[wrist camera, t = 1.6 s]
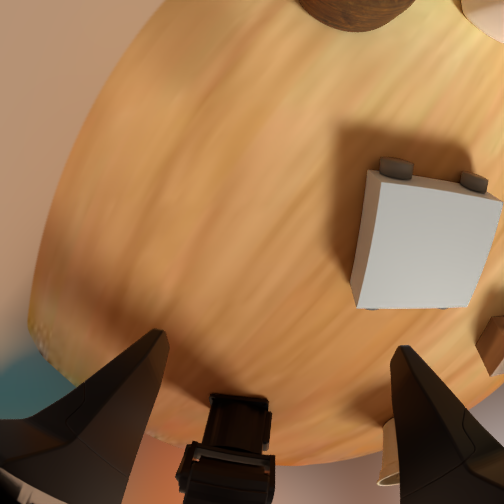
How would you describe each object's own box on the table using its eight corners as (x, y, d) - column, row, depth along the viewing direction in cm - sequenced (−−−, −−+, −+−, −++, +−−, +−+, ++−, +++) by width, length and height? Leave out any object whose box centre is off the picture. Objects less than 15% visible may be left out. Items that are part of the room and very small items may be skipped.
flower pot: (430, 424, 30) (440, 472, 23) (371, 440, 32) (375, 490, 25) (440, 395, 26) (456, 452, 19) (371, 415, 28) (377, 476, 21)
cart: (347, 292, 20) (353, 318, 17) (368, 154, 15) (383, 165, 13) (448, 293, 19) (462, 316, 16) (482, 175, 14) (506, 188, 12)
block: (475, 345, 22) (490, 376, 18) (491, 316, 20) (510, 348, 16) (498, 341, 21) (513, 370, 17) (513, 314, 19) (532, 343, 15)
